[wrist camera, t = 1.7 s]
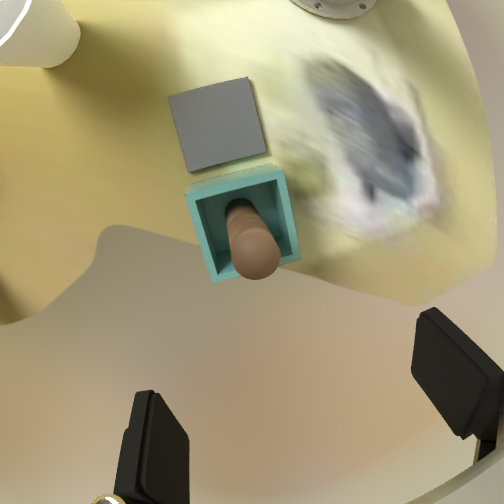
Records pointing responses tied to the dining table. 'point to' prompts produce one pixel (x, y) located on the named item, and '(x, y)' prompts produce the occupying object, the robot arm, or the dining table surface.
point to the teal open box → (265, 201)
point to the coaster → (217, 123)
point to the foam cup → (36, 33)
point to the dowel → (250, 241)
